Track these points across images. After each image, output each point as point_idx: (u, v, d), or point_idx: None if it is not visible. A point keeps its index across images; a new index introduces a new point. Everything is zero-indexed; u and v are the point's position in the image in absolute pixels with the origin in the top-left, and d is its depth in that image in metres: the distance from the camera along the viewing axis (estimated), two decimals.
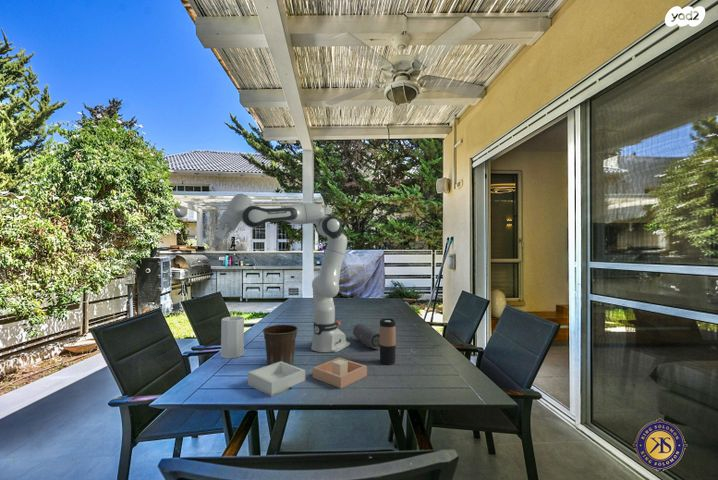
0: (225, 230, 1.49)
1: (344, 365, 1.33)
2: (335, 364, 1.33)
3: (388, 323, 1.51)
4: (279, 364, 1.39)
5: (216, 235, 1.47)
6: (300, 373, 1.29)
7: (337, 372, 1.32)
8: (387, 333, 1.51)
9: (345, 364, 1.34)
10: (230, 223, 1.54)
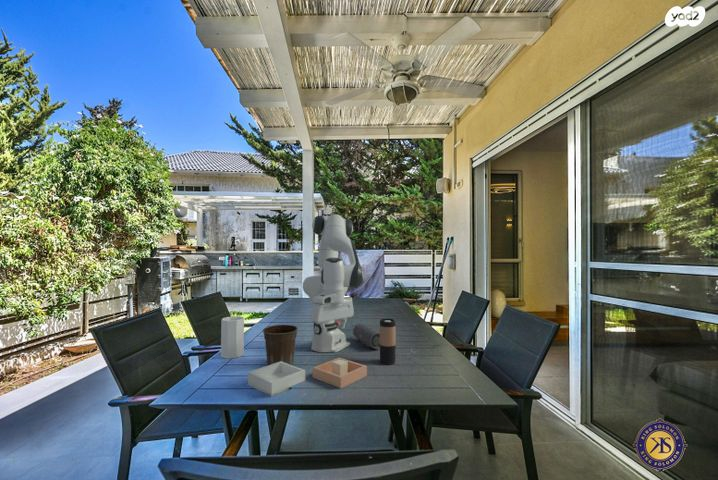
0: None
1: (344, 365, 1.33)
2: (335, 364, 1.33)
3: (388, 323, 1.51)
4: (279, 364, 1.39)
5: None
6: (300, 373, 1.29)
7: (337, 372, 1.32)
8: (387, 333, 1.51)
9: (345, 364, 1.34)
10: None
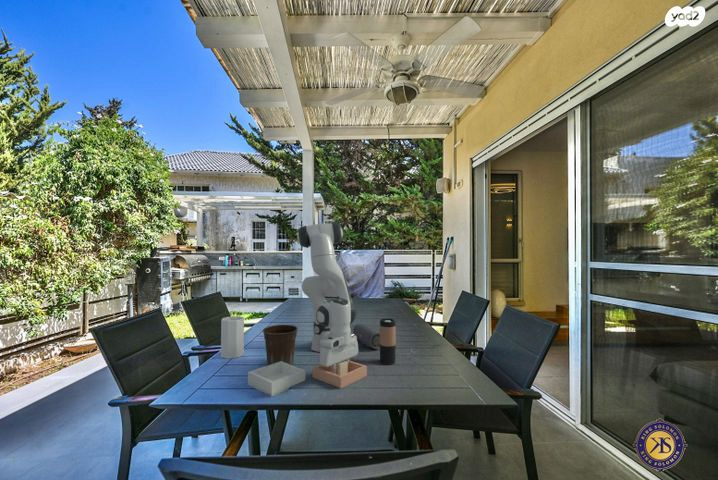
0: None
1: (344, 365, 1.33)
2: None
3: (388, 323, 1.51)
4: (279, 364, 1.39)
5: None
6: (300, 373, 1.29)
7: None
8: (387, 333, 1.51)
9: (345, 364, 1.34)
10: None
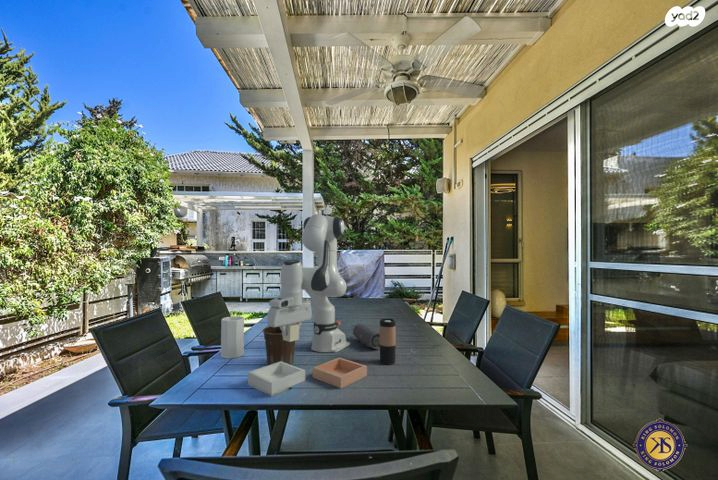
0: None
1: (294, 328, 1.29)
2: None
3: (388, 323, 1.51)
4: (279, 364, 1.39)
5: None
6: (300, 373, 1.29)
7: None
8: (387, 333, 1.51)
9: (296, 327, 1.30)
10: None
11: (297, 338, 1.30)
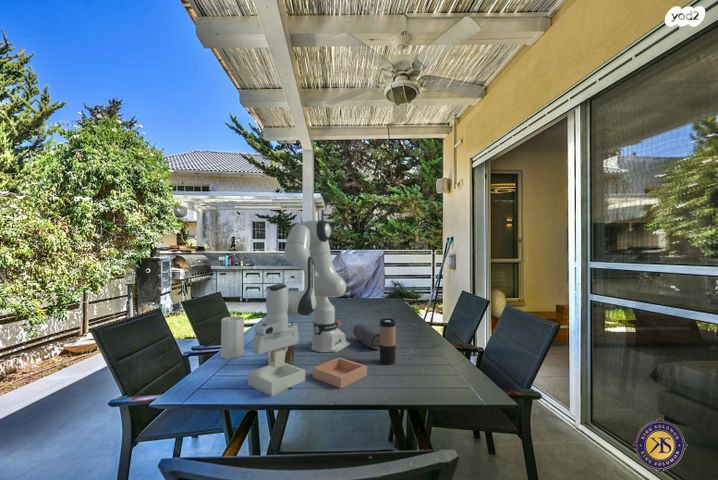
0: None
1: (280, 353, 1.28)
2: (271, 352, 1.28)
3: (388, 323, 1.51)
4: None
5: None
6: (300, 373, 1.29)
7: (273, 360, 1.27)
8: (387, 333, 1.51)
9: (281, 352, 1.29)
10: None
11: (283, 364, 1.29)
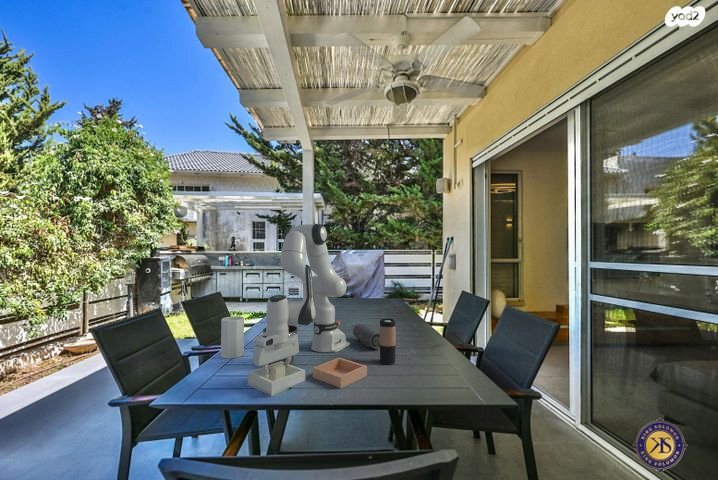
0: None
1: (280, 370, 1.28)
2: (271, 368, 1.28)
3: (388, 323, 1.51)
4: None
5: None
6: (300, 373, 1.29)
7: (273, 376, 1.27)
8: (387, 333, 1.51)
9: (282, 368, 1.29)
10: None
11: None
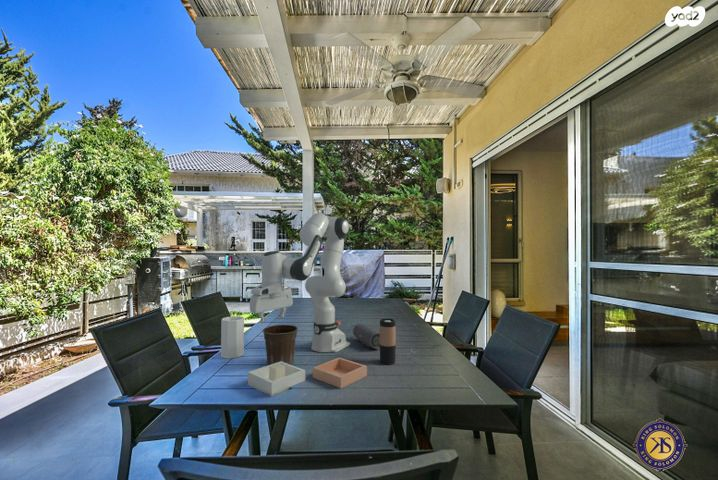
0: None
1: (280, 370, 1.28)
2: (271, 368, 1.28)
3: (388, 323, 1.51)
4: None
5: None
6: (300, 373, 1.29)
7: (273, 376, 1.27)
8: (387, 333, 1.51)
9: (282, 368, 1.29)
10: None
11: None
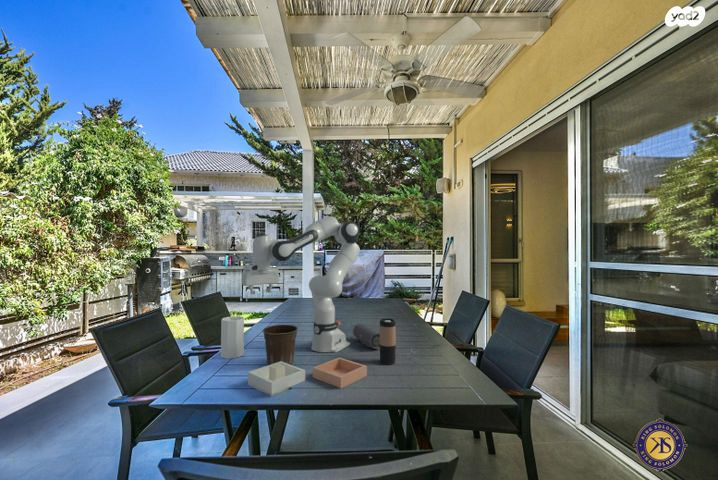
0: None
1: (280, 370, 1.28)
2: (271, 368, 1.28)
3: (388, 323, 1.51)
4: None
5: None
6: (300, 373, 1.29)
7: (273, 376, 1.27)
8: (387, 333, 1.51)
9: (282, 368, 1.29)
10: None
11: None
